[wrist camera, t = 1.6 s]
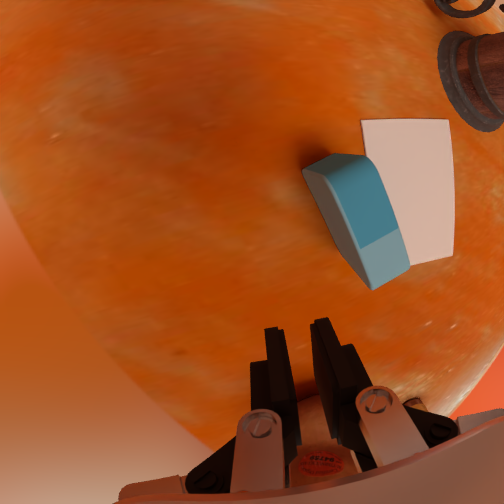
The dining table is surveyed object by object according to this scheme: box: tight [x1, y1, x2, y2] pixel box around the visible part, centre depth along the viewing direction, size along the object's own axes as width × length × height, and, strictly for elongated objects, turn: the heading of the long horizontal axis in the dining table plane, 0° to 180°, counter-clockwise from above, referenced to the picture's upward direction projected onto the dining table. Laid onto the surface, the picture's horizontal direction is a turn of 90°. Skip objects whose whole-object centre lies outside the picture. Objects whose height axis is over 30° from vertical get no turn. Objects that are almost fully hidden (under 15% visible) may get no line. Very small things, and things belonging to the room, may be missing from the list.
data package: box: [302, 153, 410, 290], centre depth 29 cm, size 12×4×12 cm, turn 29°
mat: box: [360, 119, 455, 265], centre depth 34 cm, size 20×14×1 cm
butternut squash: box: [290, 395, 358, 488], centre depth 35 cm, size 14×13×25 cm
